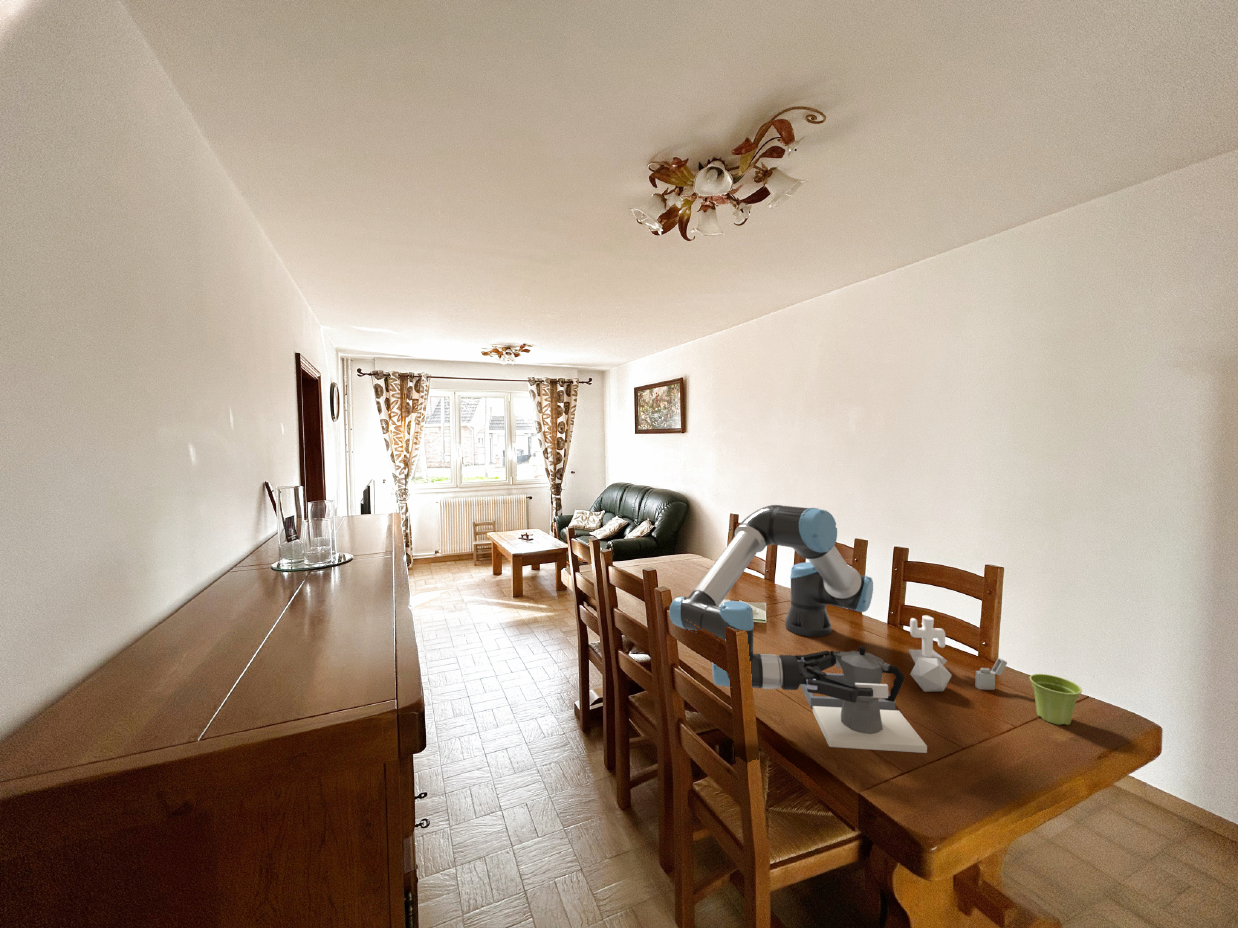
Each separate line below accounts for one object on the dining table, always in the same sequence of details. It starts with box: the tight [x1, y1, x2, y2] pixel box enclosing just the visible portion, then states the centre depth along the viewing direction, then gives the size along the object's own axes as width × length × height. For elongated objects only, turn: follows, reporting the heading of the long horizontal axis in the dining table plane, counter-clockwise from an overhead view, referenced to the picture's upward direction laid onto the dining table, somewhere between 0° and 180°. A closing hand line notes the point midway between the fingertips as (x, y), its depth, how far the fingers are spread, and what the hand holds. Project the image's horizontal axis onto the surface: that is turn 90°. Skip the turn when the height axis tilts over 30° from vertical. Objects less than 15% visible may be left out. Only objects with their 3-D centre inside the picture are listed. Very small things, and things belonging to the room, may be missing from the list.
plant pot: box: [1029, 673, 1083, 726], centre depth 119 cm, size 9×9×9 cm
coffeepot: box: [833, 645, 905, 734], centre depth 114 cm, size 15×9×18 cm, turn 45°
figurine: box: [908, 614, 948, 666], centre depth 146 cm, size 7×9×15 cm
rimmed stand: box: [799, 672, 897, 710], centre depth 131 cm, size 14×20×2 cm
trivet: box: [812, 706, 928, 754], centre depth 115 cm, size 14×20×2 cm
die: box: [909, 658, 952, 693], centre depth 134 cm, size 8×9×10 cm
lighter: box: [974, 657, 1008, 691], centre depth 133 cm, size 7×2×8 cm, turn 87°
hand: (875, 675), depth 114 cm, fingers open, 13 cm apart
